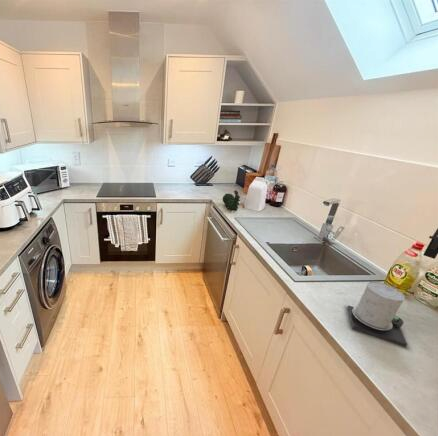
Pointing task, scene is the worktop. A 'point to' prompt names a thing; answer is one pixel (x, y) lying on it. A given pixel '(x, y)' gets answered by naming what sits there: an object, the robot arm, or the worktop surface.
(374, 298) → the silver metal canister
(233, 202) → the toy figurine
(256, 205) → the milk
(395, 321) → the tare button
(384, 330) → the pan
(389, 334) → the scale
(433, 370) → the worktop surface
